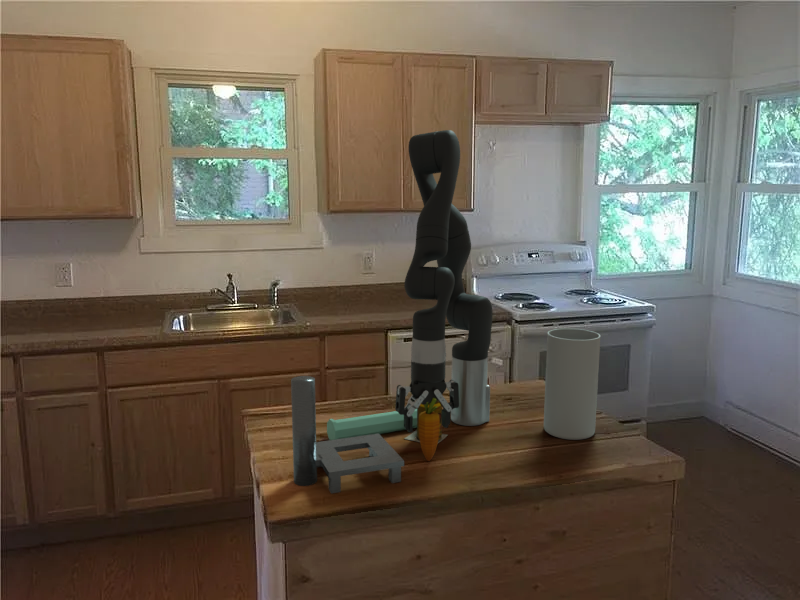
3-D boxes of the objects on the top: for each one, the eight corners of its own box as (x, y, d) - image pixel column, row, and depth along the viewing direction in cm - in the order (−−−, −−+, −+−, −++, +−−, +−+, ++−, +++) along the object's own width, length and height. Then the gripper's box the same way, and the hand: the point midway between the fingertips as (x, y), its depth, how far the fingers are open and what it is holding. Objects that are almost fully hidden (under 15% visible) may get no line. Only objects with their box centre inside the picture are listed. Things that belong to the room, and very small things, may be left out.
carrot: (414, 458, 150) (414, 394, 147) (434, 455, 151) (435, 392, 149) (422, 467, 145) (423, 401, 142) (443, 463, 147) (444, 399, 144)
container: (420, 400, 171) (328, 413, 160) (430, 415, 166) (336, 430, 155) (415, 418, 174) (325, 432, 163) (425, 433, 169) (333, 448, 158)
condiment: (435, 446, 157) (436, 397, 155) (403, 439, 161) (404, 392, 159) (448, 435, 163) (449, 389, 161) (417, 429, 167) (418, 384, 165)
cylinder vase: (553, 419, 174) (557, 326, 170) (600, 428, 168) (606, 332, 164) (536, 434, 164) (540, 336, 160) (586, 444, 158) (592, 342, 153)
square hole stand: (378, 453, 152) (378, 360, 149) (404, 482, 138) (404, 380, 134) (286, 467, 145) (283, 370, 141) (302, 499, 130) (299, 392, 126)
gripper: (450, 351, 150) (449, 419, 153) (391, 356, 145) (391, 426, 148) (465, 359, 143) (463, 431, 146) (403, 365, 138) (402, 438, 141)
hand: (427, 428), depth 147 cm, fingers open, 8 cm apart
